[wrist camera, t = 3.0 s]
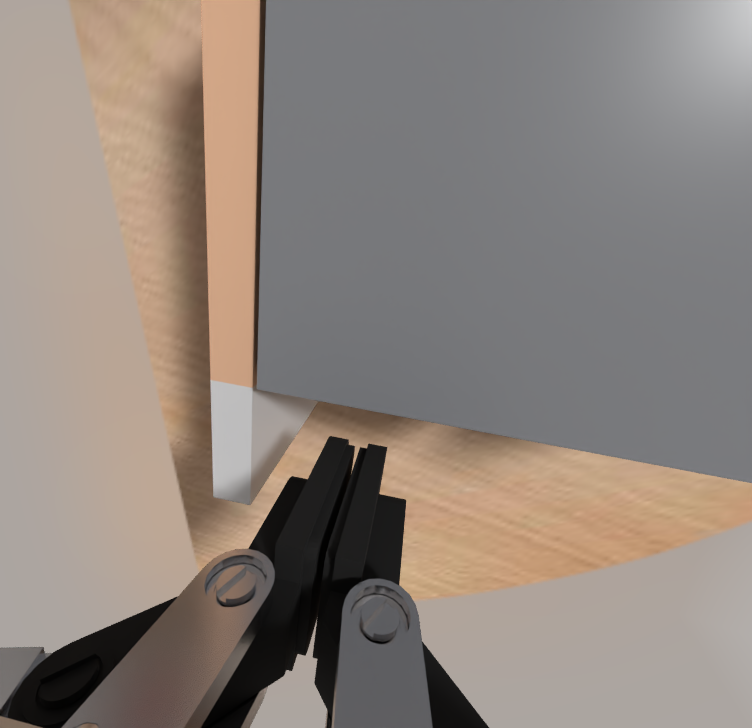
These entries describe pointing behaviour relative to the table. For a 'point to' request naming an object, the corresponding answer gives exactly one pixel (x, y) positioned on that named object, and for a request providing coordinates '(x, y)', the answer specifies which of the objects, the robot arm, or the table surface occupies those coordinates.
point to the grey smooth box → (515, 219)
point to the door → (238, 253)
